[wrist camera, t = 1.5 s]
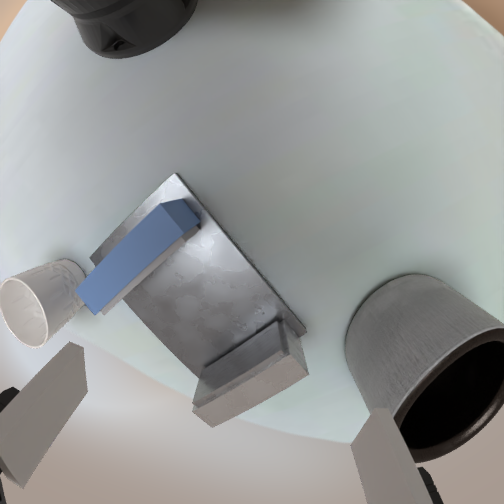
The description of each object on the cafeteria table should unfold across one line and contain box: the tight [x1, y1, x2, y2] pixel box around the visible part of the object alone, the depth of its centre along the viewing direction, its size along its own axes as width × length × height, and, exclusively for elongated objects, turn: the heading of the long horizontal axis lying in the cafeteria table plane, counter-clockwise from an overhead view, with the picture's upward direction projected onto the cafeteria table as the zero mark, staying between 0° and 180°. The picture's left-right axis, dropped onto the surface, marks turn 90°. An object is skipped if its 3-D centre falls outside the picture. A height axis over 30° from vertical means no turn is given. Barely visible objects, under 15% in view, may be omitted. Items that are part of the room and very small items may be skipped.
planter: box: [345, 274, 504, 463], centre depth 25 cm, size 16×16×16 cm
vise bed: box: [90, 173, 307, 378], centre depth 32 cm, size 22×14×1 cm, turn 39°
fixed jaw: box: [192, 320, 309, 427], centre depth 29 cm, size 4×12×7 cm, turn 129°
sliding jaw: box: [75, 198, 201, 315], centre depth 26 cm, size 4×12×7 cm, turn 129°
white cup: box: [0, 259, 86, 348], centre depth 27 cm, size 8×8×10 cm
